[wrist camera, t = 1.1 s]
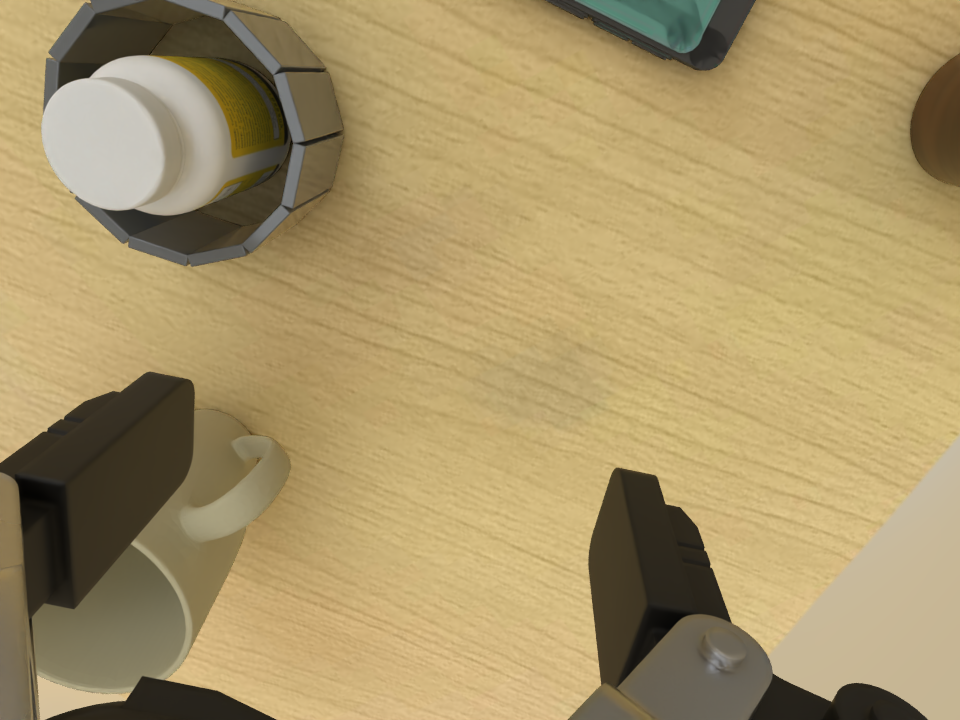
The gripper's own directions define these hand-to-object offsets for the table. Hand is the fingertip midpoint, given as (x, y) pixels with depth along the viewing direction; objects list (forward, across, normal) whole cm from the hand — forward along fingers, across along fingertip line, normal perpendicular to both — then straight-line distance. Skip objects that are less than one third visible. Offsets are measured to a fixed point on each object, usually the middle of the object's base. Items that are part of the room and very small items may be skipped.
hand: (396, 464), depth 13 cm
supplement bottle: (+20, +12, -2) cm, 23 cm away
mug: (+20, +11, +14) cm, 27 cm away
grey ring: (+20, +12, -3) cm, 23 cm away
